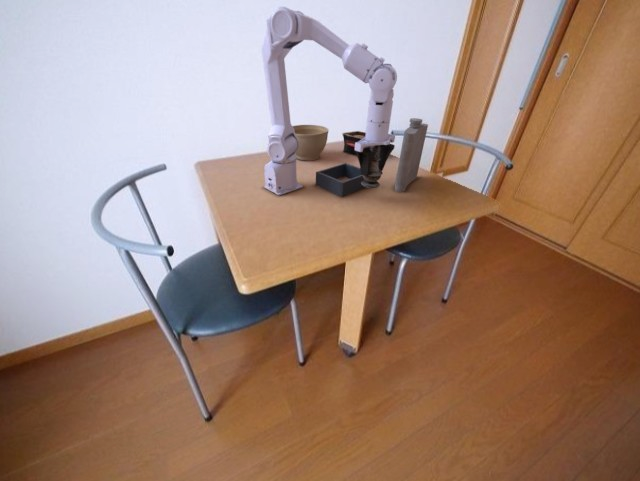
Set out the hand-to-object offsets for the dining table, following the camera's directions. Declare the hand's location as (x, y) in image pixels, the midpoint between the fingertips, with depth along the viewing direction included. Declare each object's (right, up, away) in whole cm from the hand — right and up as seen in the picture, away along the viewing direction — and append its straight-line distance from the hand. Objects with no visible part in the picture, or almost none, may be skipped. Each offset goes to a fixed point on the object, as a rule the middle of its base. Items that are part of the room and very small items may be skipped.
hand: (371, 172), depth 80 cm
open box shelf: (-7, -1, +13) cm, 15 cm away
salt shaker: (0, -3, +2) cm, 4 cm away
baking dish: (+4, +19, +43) cm, 47 cm away
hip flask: (+14, 0, +16) cm, 21 cm away
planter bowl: (-19, +15, +36) cm, 44 cm away
